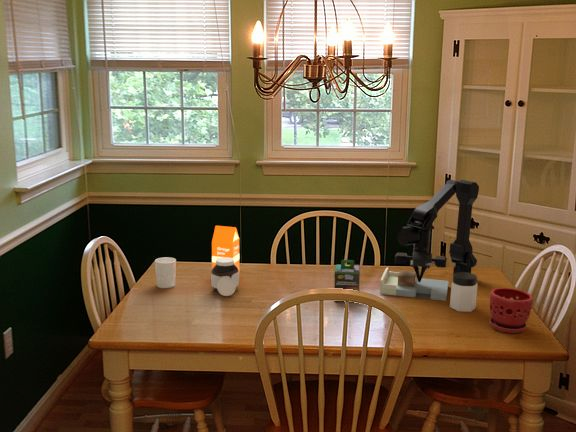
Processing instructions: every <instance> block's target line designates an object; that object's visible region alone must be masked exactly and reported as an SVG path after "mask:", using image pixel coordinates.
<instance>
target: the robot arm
mask: <svg viewBox="0 0 576 432" xmlns="http://www.w3.org/2000/svg"><path fill="white" fill-rule="evenodd" d="M479 192H480V187H479V184H478V183H477V182H475V181H470V180H466V179H465V180H464V179H459V180H454V179H448V180H446V182H445V184H444V185H443V186H442V187H441V188H440V189H439V190H438V191H437V193H436V194H434V196H433V197H431V199H430V200H429V201H427V202H425V203H421V204H419V205H418V206H417V207H416V208H415V209H414V210H413V211H412V214H411V216H410V218H409V219H408V221H407V223H406V226H402V227H401V230H400V231H399V232H398V234H397V236H396V237H397V241H398V244H399V245H400V246H402V247H406V246H410V245H413V251H412V255H411V256H410V255H408V254H407V253H406V252H397V253H395V256H394V264H397V265H398V264H400V265H403V264H405V263H406V262H410V263H409V266H410V267H411V268H413V270H414V272H416V274H415V277H416V279H418V282H421V279H422V278H424V274H425V271H426V270H427V269H430V268H431V264H433V265H435V266H436V267H437V268H443V269H445V268H447V262H448V261H447V260H448V259H447V256H441V255H436V256H435V257H433V253H430V243H431V230H434V229H436V228H435V226H434V225H433V223H434V222H435V220H436V219H437V218H438V212H440V210H441V209H442V208H443V207H444V205H446V204H447V202H448V201H450V199H451V198H452V197H453V196H454V195H455V196H456V199H457V201H458V213H457V225H456V226H457V227H456V236H455V239H454V241H453V242H451V243H450V244H449V252H448V254H449V257H450V260H451V263H453V264H454V265H453V271H452V275H453V274H454V273H457V272H468V273H472V268H475V267H476V266H477V263H478V260H477V259H476V256H474V254H473V253H474V251H473V245H472V243H471V242H470V233H471V223H472V212H473V204H474V203H475V202H476V200H477V199H478V196H479ZM420 267H421V269H420Z"/></svg>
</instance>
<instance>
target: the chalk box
mask: <svg viewBox="0 0 576 432" xmlns="http://www.w3.org/2000/svg"><path fill="white" fill-rule="evenodd" d="M360 268H361V265H360V264H355V260H353V259H342V260H341V262H340V264H335V266H334V276H333V277H334V279H333V282H334V284H333V285H334V287H333V289H334V288H343V289H353V290H358V291H359V292H360V283H361V281H360V280H361V278H360V276H361V275H360V273H361V269H360ZM333 301H334V300H333ZM334 302H336V301H334ZM338 302H342V301H338ZM342 303H343V302H342Z"/></svg>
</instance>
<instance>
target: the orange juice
mask: <svg viewBox="0 0 576 432" xmlns="http://www.w3.org/2000/svg"><path fill="white" fill-rule="evenodd" d="M222 257H229V258H233V259H234V265H236V266H237V268H238V270H239V271H240V258H241V257H240V237H239V233H238V229H237V227H236V226H234V227H233V226H224V225H215V226H214V232H213V235H212V240H211V270H212V269H213V267H214V266H215V265H216V259H218V258H222Z"/></svg>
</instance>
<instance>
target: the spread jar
mask: <svg viewBox="0 0 576 432" xmlns="http://www.w3.org/2000/svg"><path fill="white" fill-rule="evenodd" d="M210 278H211V279H210V283H211V284H210V285H211V287H212V288H213V289H214V291H216V292H218V293H219V295H221V296H224V297H229V296H232V295H233V294H234V293H235V291H236V290H237V288H238V287H239V283H240V269H239V270H238V268H237V266H236V265H234V259H233V258H229V257H222V258H218V259H216V265H215V266H214V267H213V269H212V268H211V273H210Z"/></svg>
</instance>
